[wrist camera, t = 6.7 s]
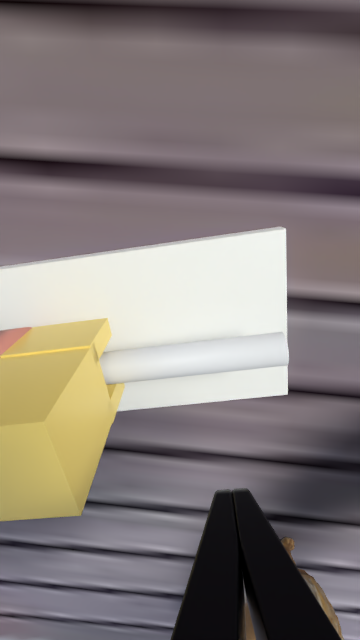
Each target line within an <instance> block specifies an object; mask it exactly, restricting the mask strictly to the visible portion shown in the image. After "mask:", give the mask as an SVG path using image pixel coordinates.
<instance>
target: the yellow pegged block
mask: <svg viewBox="0 0 360 640" xmlns="http://www.w3.org/2000/svg"><path fill="white" fill-rule="evenodd" d="M111 336H112V333H111V329H110V325H109V322H108V318H102V319H94V320H86V321H78V322H70V323H62V324H54V325H46V326H38V327H32V328H31V329H30V330H29V331H28V332H27V333H26V334H24V335H23V336H22V337H21V338H20V339H19V340H18V341H17V342H15V343H14V344H13V345H12V346H11V347H10V348H9V349H7V350H6V351H5V352H4V353H3V354H2V355H1V356H0V357H1V358H0V521H11V520H25V519H39V518H53V517H67V516H81V514H82V511H83V508H84V505H85V502H86V499H87V496H88V493H89V490H90V487H91V484H92V481H93V478H94V475H95V472H96V469H97V466H98V463H99V460H100V457H101V454H102V451H103V448H104V445H105V442H106V439H107V436H108V433H109V430H110V427H111V424H113V421H114V418H115V415H116V412H117V409H118V406H119V403H120V400H121V397H122V394H123V391H124V388H125V384H124V383H118V384H109V385H106V383H105V379H104V376H103V372H102V369H101V365H100V362H99V359H100V357H101V355H102V353H103V351H104V350H105V348H106V346H107V344H108V342H109V340H110V338H111Z"/></svg>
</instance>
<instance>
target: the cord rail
mask: <svg viewBox="0 0 360 640" xmlns="http://www.w3.org/2000/svg"><path fill="white" fill-rule="evenodd" d="M102 318H108V322H109V325H110V329H111V333H112V336H111V338H110V340H109V342H108V344H107V346H106V348H105V350H104V351H103V353H102V355H101V357H100V359H99V362H100V365H101V369H102V372H103V376H104V379H105V383H106V385H109V384H118V383H124V384H125V388H124V391H123V394H122V397H121V400H120V403H119V406H118V409H117V411H125V410H135V409H145V408H156V407H166V406H176V405H186V404H196V403H206V402H216V401H226V400H237V399H247V398H257V397H267V396H277V395H287V394H288V374H287V365H288V362H289V351H288V345H287V283H286V229H285V228H283V227H274V228H267V229H260V230H253V231H246V232H239V233H232V234H225V235H218V236H211V237H204V238H197V239H190V240H183V241H176V242H169V243H163V244H156V245H149V246H142V247H135V248H128V249H121V250H114V251H107V252H100V253H93V254H86V255H79V256H72V257H65V258H58V259H51V260H44V261H37V262H30V263H23V264H16V265H9V266H2V267H0V356H1V355H2V354H3V353H4V352H5V351H6V350H7V349H9V348H10V347H11V346H12V345H13V344H14V343H15V342H17V341H18V340H19V339H20V338H21V337H22V336H23V335H24V334H26V333H27V332H28V331H29V330H30V329H31V328H32V327H38V326H46V325H54V324H62V323H70V322H78V321H86V320H94V319H102ZM0 358H1V357H0Z"/></svg>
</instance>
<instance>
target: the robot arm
mask: <svg viewBox="0 0 360 640" xmlns="http://www.w3.org/2000/svg"><path fill="white" fill-rule="evenodd" d="M242 574H243V575H242ZM243 581H244V584H243ZM244 587H245V593H246V598H247V603H248V607H249V611H250V616H251V620H252V624H253V629H254V633H255V637H256V640H342V639H341V637H340V636H339V634H338V633H337V631H336V629H335V628H334V626H333V625H332V623H331V621H330V620H329V618H328V616H327V615H326V613H325V612H324V610H323V608H322V607H321V605H320V604H319V602H318V600H317V599H316V597H315V596H314V594H313V592H312V591H311V589H310V587H309V586H308V584H307V583H306V581H305V579H304V578H303V576H302V575H301V573H300V571H299V570H298V568H297V566H296V565H295V563H294V562H293V560H292V558H291V557H290V555H289V554H288V552H287V550H286V549H285V547H284V546H283V544H282V542H281V541H280V539H279V537H278V536H277V534H276V533H275V531H274V529H273V528H272V526H271V525H270V523H269V521H268V520H267V518H266V517H265V515H264V513H263V512H262V510H261V508H260V507H259V505H258V504H257V502H256V500H255V499H254V497H253V496H252V494H251V492H250V491H249V490H248V489H247V488H242V489H234V490H233V491H231V490H217V491H216V492H215V494H214V497H213V501H212V504H211V507H210V511H209V514H208V517H207V521H206V524H205V527H204V531H203V534H202V537H201V540H200V544H199V547H198V550H197V554H196V557H195V560H194V564H193V567H192V570H191V574H190V577H189V580H188V584H187V587H186V590H185V594H184V597H183V600H182V604H181V607H180V610H179V614H178V617H177V620H176V623H175V627H174V630H173V633H172V637H171V640H246V616H245V594H244Z"/></svg>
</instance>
